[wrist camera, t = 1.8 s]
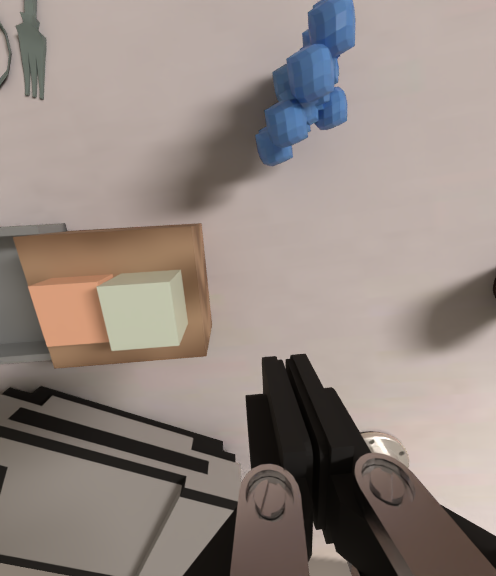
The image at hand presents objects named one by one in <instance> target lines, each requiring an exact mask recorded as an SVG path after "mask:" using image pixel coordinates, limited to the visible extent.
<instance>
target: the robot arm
mask: <svg viewBox="0 0 496 576" xmlns="http://www.w3.org/2000/svg"><path fill="white" fill-rule="evenodd" d="M262 376H263V394H255V395H246V410H247V424H248V437H249V449H250V462H251V471H249V472H248V473H247V474H246V476H245V477H244V479H243V481H242V482H241V486H240V490H239V496H238V506H237V507H236V508H235V510H234V511H233V512H232V513H231V515H230V516H229V517H228V519H227V520H226V521H225V522H224V524H223V525H222V526H221V527H220V529H219V530H218V531H217V533H216V534H215V535H214V536H213V538H212V539H211V540H210V541H209V543H208V544H207V545H206V547H205V548H204V549H203V550H202V552H201V553H200V554H199V555H198V557H197V558H196V559H195V560H194V562H193V563H192V564H191V566H190V567H189V568H188V569H187V571H186V572H185V573H184V574H183V576H310V575H309V566H308V562H309V560H310V558H311V555H312V533H313V522H314V526H315V528H316V530H319V529H322V531H323V535H324V538H325V542H326V544H331V543H334V545H335V549H336V552H337V553H339V554H340V555H341V556H342V557H343V558H344V559H346V560H347V563H348V566H349V569H350V572H351V575H352V576H496V536H495V535H493V534H491V533H489V532H488V531H486V530H484V529H482V528H481V527H479V526H477V525H475V524H474V523H472V522H470V521H468V520H467V519H465V518H463V517H461V516H460V515H458V514H456V513H454V512H452V511H451V510H449V509H447V508H445V507H444V506H442V505H440V504H439V503H438V502H437V500H436V499H435V498H434V497H433V496H432V495H431V493H430V492H429V491H428V490H427V489H426V488H425V486H424V485H423V484H422V483H421V482H420V481H419V479H418V478H417V477H416V476H415V475H414V474H413V472H411V471H410V470H409V469H408V467H409V457H408V453H407V451H406V449H405V448H404V447H403V445H402V444H401V443H400V442H399V441H398V440H397V439H396V438H394V437H392V436H391V435H388V434H385V433H379V432H367V433H362V434H360V432H359V430H358V428H357V427H356V425H355V423H354V422H353V420H352V418H351V416H350V415H349V413H348V411H347V410H346V408H345V406H344V405H343V403H342V401H341V399H340V398H339V396H338V394H337V393H336V391H335V390H334V389H333V388H332V387H331V388H323V386H322V384H321V382H320V380H319V378H318V376H317V374H316V372H315V371H314V369H313V367H312V365H311V363H310V361H309V359H308V357H307V355H306V354H296V355H291V356H290V359H286V369H285V366H284V363H283V361H282V360H277V357H276V356H273V357H262Z"/></svg>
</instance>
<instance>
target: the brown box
mask: <svg viewBox="0 0 496 576" xmlns="http://www.w3.org/2000/svg"><path fill="white" fill-rule="evenodd" d="M13 240H14V243H15V246H16V249H17V252H18V255H19V259H20V262H21V265H22V268H23V271H24V274H25V277H26V280H27V284H28V286H31V285H34V284H36V283H39V282H42V281H45V280H48V279H50V278H62V277H77V276H92V275H107V274H113V278H114V277H116V276H117V275H119V274H122V273H138V272H153V271H168V270H181V275H182V282H183V290H184V297H185V305H186V312H187V319H188V325H187V327H186V330H185V332H184V335H183V337H182V340H181V342H180V345H179V346H169V347H156V348H143V349H131V350H118V351H112V350H111V346H110V342H104V343H91V344H78V345H65V346H52V347H48V350H49V353H50V356H51V359H52V362H53V365H54V368H67V367H80V366H92V365H104V364H117V363H129V362H141V361H153V360H166V359H178V358H190V357H203V356H206V355H207V350H208V344H209V339H210V333H211V328H212V321H211V311H210V301H209V292H208V282H207V273H206V263H205V254H204V244H203V235H202V225H201V223H199V224H182V225H164V226H147V227H130V228H113V229H96V230H79V231H65V232H55V233H46V234H36V235H27V236H17V237H13Z"/></svg>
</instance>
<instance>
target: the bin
mask: <svg viewBox="0 0 496 576" xmlns="http://www.w3.org/2000/svg"><path fill="white" fill-rule="evenodd" d="M65 231H67V229H66V225H65V223H63V224H45V225H28V226H10V227H0V364H10V363H23V362H35V361H48V360H52V359H51V356H50V353H49V350H48V347H47V345H46V342H45V339H44V336H43V333H42V330H41V326H40V323H39V320H38V317H37V314H36V311H35V308H34V304H33V301H32V298H31V295H30V292H29V289H28V284H27V280H26V277H25V274H24V271H23V268H22V265H21V262H20V259H19V255H18V252H17V249H16V246H15V243H14V240H13V237H17V236H27V235H36V234H46V233H55V232H65Z"/></svg>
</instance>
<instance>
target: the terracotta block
mask: <svg viewBox="0 0 496 576" xmlns="http://www.w3.org/2000/svg"><path fill="white" fill-rule="evenodd" d="M112 278H113V274H107V275H92V276H77V277H62V278H50V279H48V280H45V281H42V282H39V283H36V284H34V285H31V286H28V289H29V292H30V295H31V298H32V301H33V304H34V308H35V311H36V314H37V317H38V320H39V323H40V326H41V330H42V333H43V336H44V339H45V342H46V345H47V347H52V346H65V345H78V344H91V343H104V342H109V338H108V334H107V329H106V325H105V321H104V317H103V313H102V308H101V304H100V300H99V296H98V292H97V286H99V285H101V284H103V283H104V282H106V281H108V280H110V279H112Z"/></svg>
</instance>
